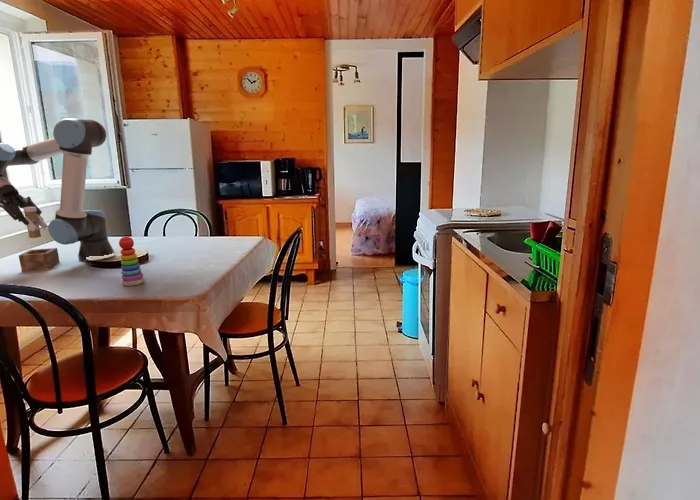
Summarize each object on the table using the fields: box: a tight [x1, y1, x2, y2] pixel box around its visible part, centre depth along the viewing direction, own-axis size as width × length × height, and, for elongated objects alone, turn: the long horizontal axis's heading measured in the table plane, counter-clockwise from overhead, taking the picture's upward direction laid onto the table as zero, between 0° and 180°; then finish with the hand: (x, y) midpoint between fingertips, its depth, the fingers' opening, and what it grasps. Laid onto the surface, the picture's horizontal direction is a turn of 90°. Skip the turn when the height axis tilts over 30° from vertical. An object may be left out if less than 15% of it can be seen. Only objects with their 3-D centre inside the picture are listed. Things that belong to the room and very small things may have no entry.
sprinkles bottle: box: [22, 207, 42, 239], centre depth 192 cm, size 5×5×14 cm
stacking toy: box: [118, 236, 145, 287], centre depth 169 cm, size 8×8×19 cm
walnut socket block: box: [18, 247, 61, 272], centre depth 196 cm, size 11×11×7 cm
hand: (40, 228), depth 192 cm, fingers closed on sprinkles bottle, 4 cm apart
